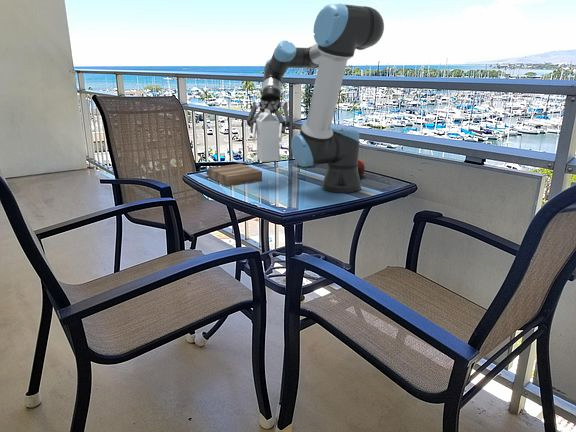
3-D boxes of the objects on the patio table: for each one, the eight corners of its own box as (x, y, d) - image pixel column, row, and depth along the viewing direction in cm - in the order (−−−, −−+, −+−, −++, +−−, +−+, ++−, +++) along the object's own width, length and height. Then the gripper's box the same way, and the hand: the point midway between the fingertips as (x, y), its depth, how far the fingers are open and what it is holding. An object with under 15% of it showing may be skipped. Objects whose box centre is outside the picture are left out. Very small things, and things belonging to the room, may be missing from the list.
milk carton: (274, 157, 165) (273, 108, 159) (279, 161, 159) (279, 109, 153) (257, 158, 163) (255, 108, 157) (261, 162, 157) (260, 110, 151)
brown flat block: (262, 180, 174) (261, 171, 173) (227, 186, 165) (227, 176, 164) (239, 171, 189) (239, 162, 188) (206, 176, 181) (206, 167, 179)
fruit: (357, 181, 174) (359, 157, 171) (338, 177, 180) (339, 154, 177) (368, 176, 181) (370, 154, 177) (350, 173, 186) (351, 151, 183)
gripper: (299, 99, 168) (296, 145, 158) (245, 99, 170) (239, 145, 160) (298, 86, 161) (295, 133, 151) (242, 86, 163) (235, 132, 153)
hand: (266, 139), depth 155 cm, fingers closed on milk carton, 9 cm apart
